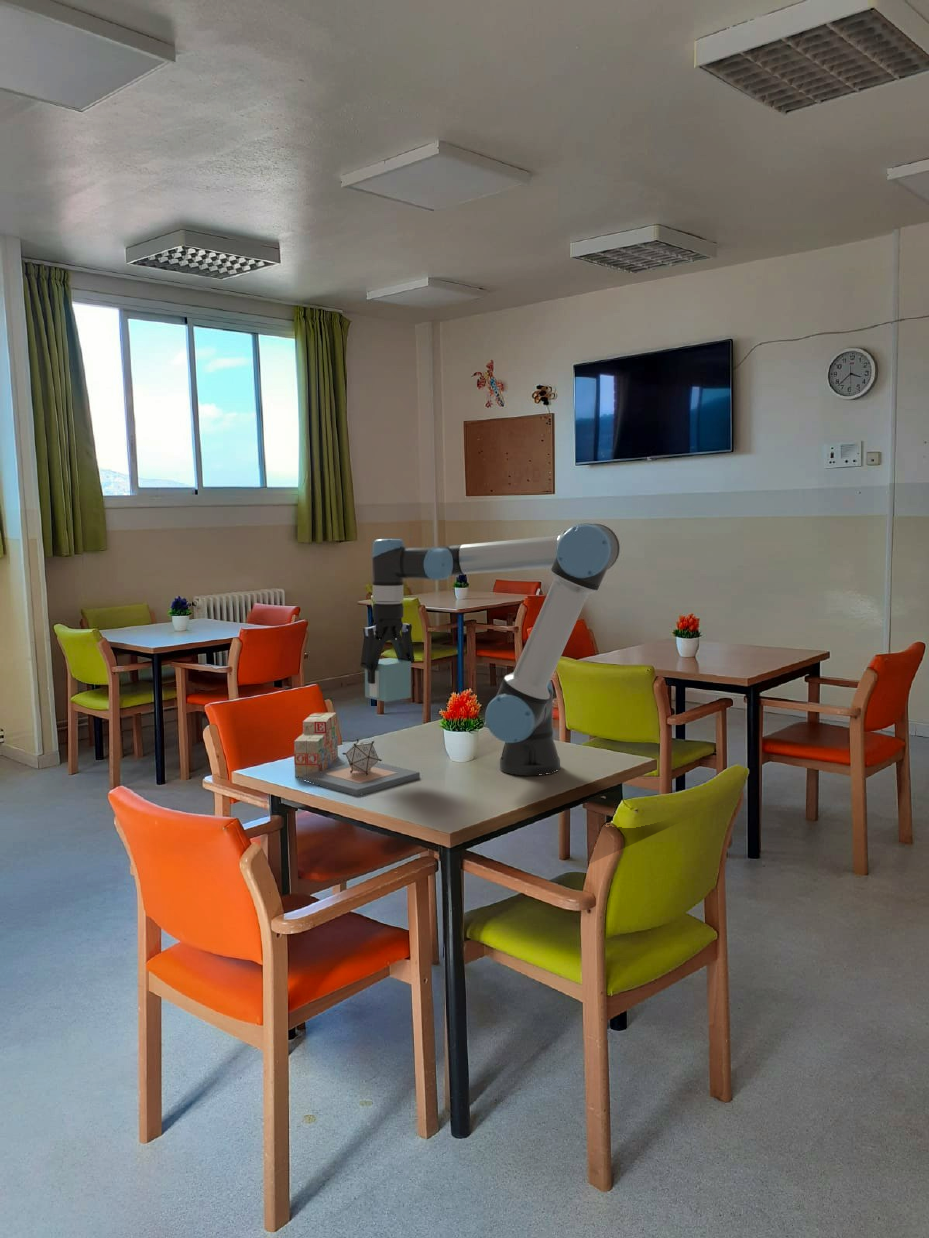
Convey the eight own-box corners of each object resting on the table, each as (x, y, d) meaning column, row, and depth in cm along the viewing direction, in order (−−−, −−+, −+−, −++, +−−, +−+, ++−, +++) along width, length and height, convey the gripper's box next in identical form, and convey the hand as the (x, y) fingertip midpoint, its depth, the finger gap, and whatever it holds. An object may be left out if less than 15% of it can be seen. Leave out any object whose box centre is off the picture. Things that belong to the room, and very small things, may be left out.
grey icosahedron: (357, 786, 235) (347, 749, 240) (389, 774, 235) (378, 737, 239) (344, 777, 227) (334, 739, 232) (378, 764, 227) (367, 726, 231)
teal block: (410, 697, 237) (411, 661, 236) (386, 701, 231) (385, 664, 230) (389, 693, 242) (389, 657, 241) (365, 697, 237) (364, 661, 236)
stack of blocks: (319, 778, 236) (317, 728, 235) (294, 777, 237) (292, 728, 236) (338, 756, 257) (336, 711, 256) (315, 756, 258) (313, 711, 257)
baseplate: (419, 778, 234) (419, 771, 234) (356, 796, 219) (356, 789, 219) (365, 765, 247) (365, 759, 247) (303, 781, 233) (302, 774, 233)
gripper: (409, 598, 244) (409, 687, 247) (344, 603, 229) (344, 697, 232) (429, 600, 239) (429, 691, 241) (364, 606, 224) (364, 701, 227)
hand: (388, 694), depth 237 cm, fingers closed on teal block, 8 cm apart
